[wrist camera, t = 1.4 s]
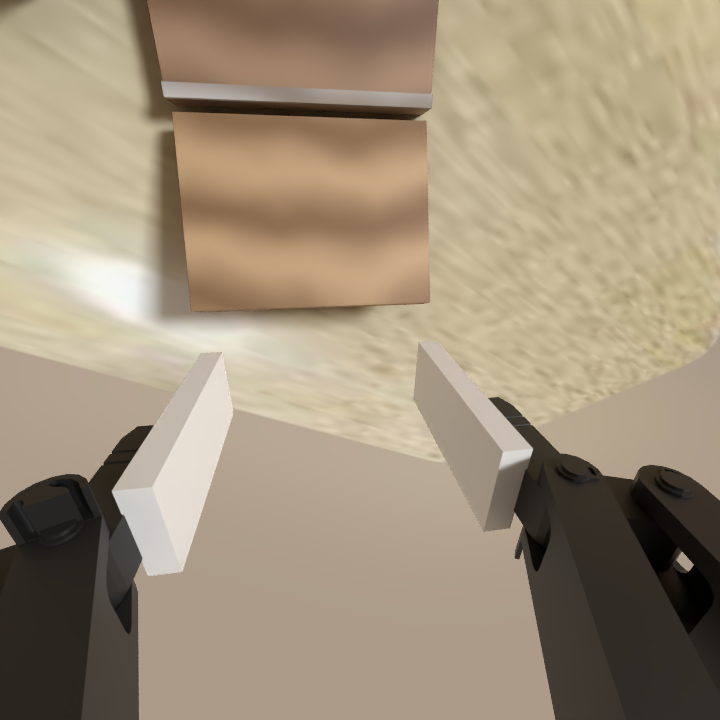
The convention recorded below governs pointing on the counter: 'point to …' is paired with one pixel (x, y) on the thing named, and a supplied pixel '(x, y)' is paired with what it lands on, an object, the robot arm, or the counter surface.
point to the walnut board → (297, 54)
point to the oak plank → (302, 211)
